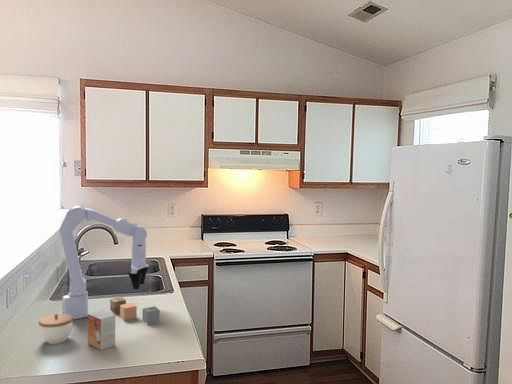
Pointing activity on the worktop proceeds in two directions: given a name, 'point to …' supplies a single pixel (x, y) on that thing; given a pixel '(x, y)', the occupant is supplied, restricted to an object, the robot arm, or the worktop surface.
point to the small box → (101, 329)
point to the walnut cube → (116, 304)
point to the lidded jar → (56, 327)
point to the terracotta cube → (128, 311)
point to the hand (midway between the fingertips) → (138, 286)
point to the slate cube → (151, 315)
